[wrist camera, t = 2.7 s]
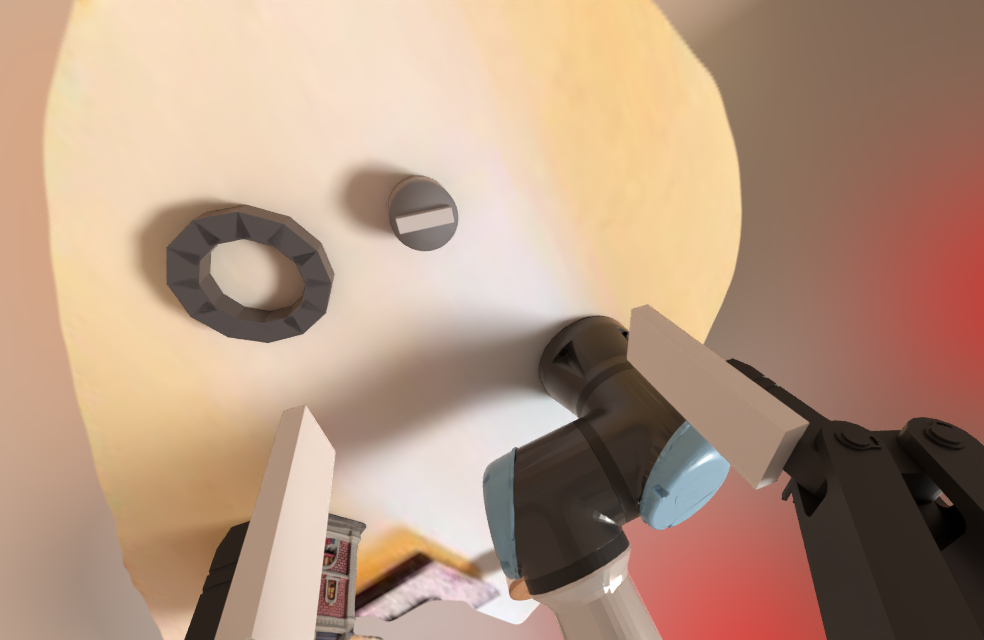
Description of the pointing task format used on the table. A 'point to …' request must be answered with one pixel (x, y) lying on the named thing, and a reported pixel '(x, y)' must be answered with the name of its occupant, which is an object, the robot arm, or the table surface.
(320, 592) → the model building
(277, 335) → the faceted gray torus
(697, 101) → the table surface
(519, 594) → the lidded jar
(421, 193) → the cap
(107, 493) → the table surface
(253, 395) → the table surface
